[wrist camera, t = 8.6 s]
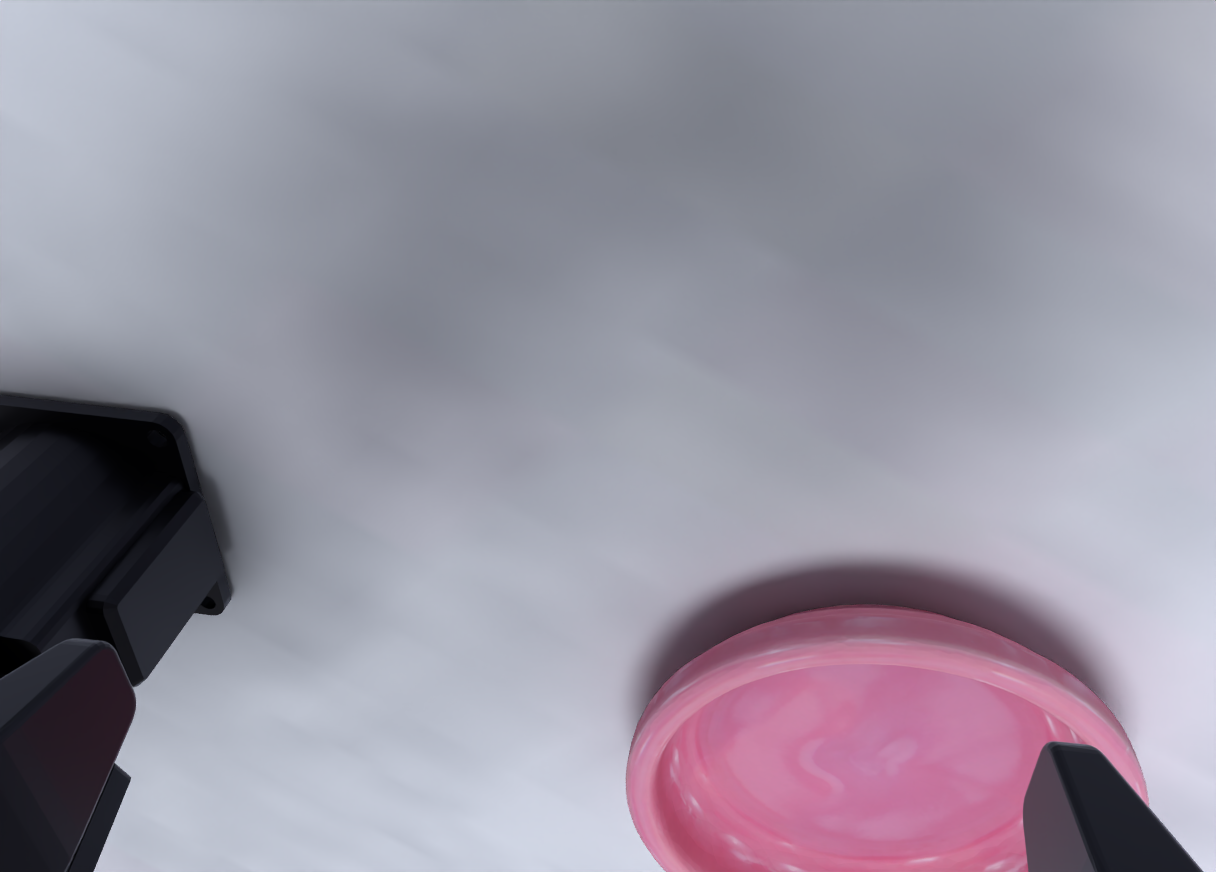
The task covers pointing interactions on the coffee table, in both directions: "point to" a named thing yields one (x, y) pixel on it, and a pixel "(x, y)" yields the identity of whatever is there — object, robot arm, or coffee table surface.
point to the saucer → (856, 746)
